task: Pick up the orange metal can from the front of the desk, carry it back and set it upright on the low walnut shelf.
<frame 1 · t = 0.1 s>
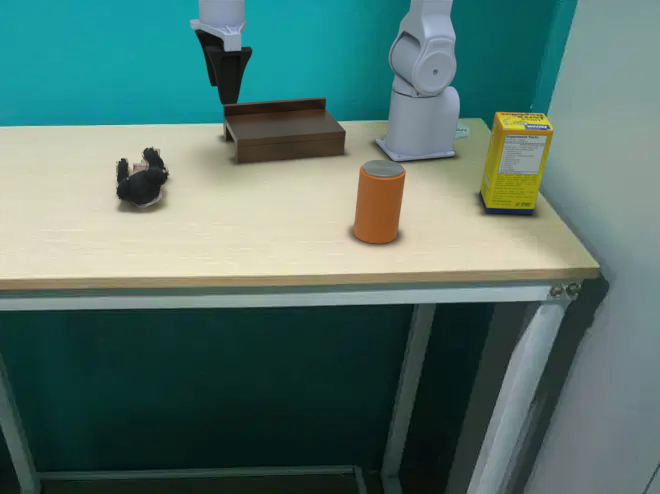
hand: (223, 94, 98), 10 cm above the table, tool pointing down, fingers open, 7 cm apart
shelf: (282, 145, 111), on the table
supplement box: (504, 205, 95), on the table
toy figure: (144, 189, 99), on the table
can: (375, 233, 88), on the table
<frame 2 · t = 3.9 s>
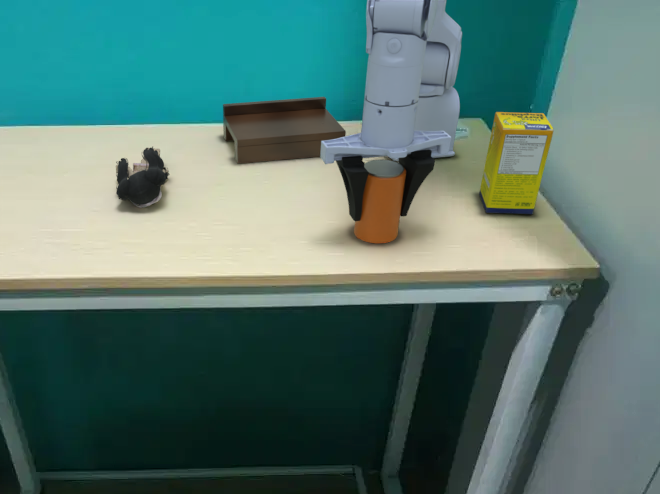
hand: (377, 215, 87), 2 cm above the table, tool pointing down, fingers closed on can, 5 cm apart
can: (375, 233, 88), on the table, touching gripper
everything else where it was.
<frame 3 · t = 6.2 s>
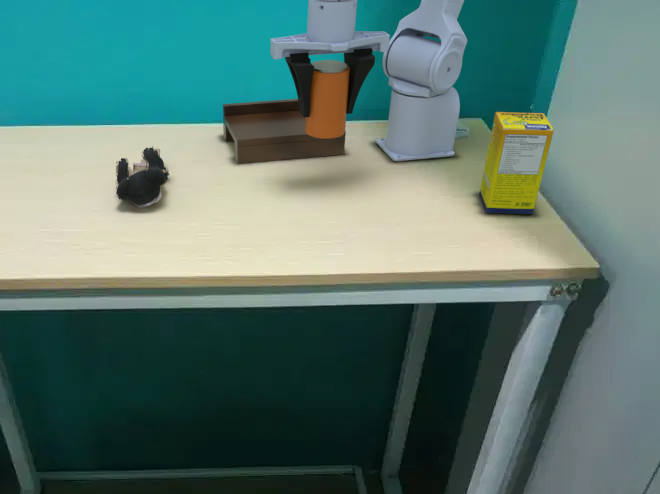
hand: (325, 113, 94), 9 cm above the table, tool pointing down, fingers closed on can, 5 cm apart
can: (324, 131, 96), point 7 cm above the table, touching gripper
everything else where it was.
when the fingers open (6 cm above the table, at t = 8.8 s): can stays where it is, resting on shelf.
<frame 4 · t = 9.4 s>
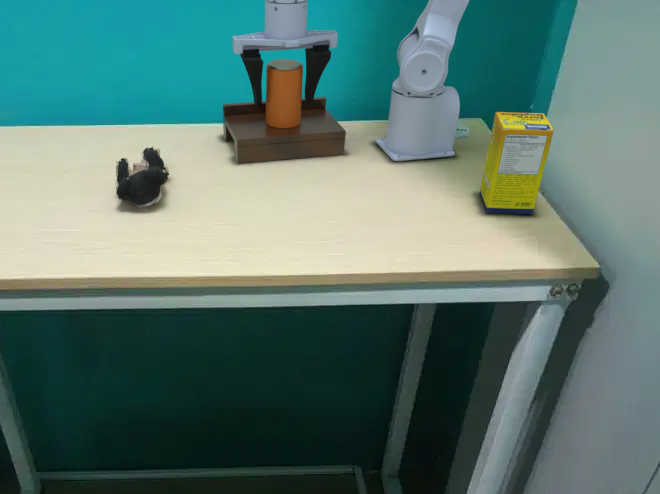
hand: (283, 102, 107), 6 cm above the table, tool pointing down, fingers open, 7 cm apart
can: (283, 122, 109), point 3 cm above the table, touching shelf
everything else where it was.
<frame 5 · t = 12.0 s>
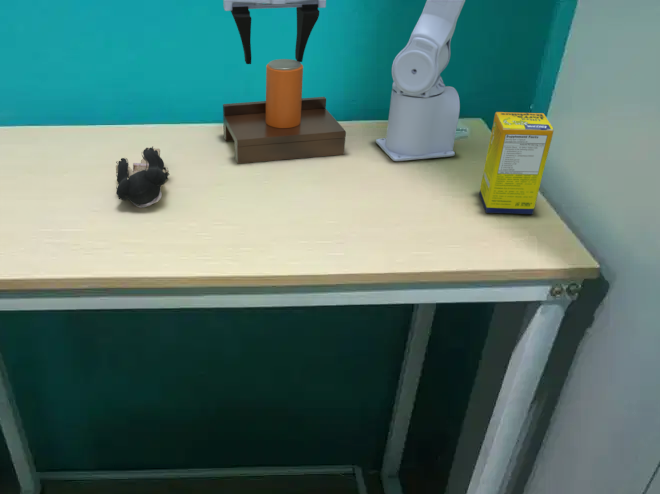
hand: (273, 61, 109), 10 cm above the table, tool pointing down, fingers open, 7 cm apart
nothing on the table moved.
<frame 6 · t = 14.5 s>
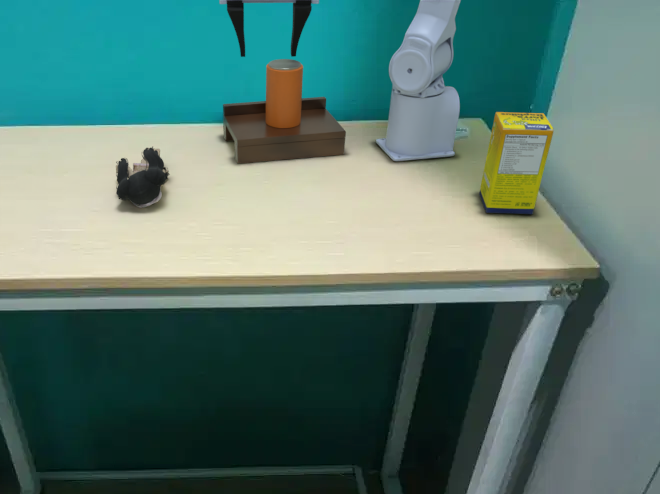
hand: (268, 54, 112), 10 cm above the table, tool pointing down, fingers open, 7 cm apart
nothing on the table moved.
at the end: can inside the target area on the shelf (0.2 cm from its centre), point 3.5 cm above the shelf's base; can tilted 0°; the gripper is holding nothing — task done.
